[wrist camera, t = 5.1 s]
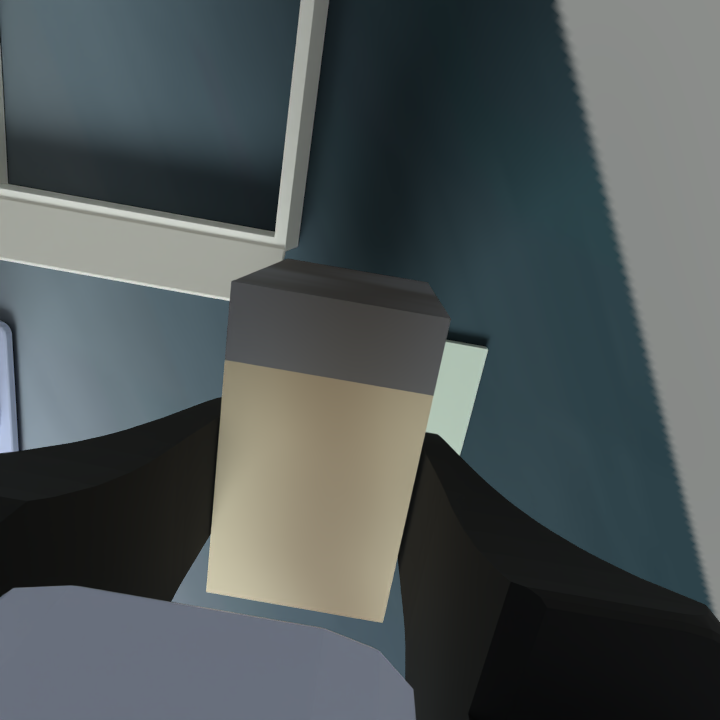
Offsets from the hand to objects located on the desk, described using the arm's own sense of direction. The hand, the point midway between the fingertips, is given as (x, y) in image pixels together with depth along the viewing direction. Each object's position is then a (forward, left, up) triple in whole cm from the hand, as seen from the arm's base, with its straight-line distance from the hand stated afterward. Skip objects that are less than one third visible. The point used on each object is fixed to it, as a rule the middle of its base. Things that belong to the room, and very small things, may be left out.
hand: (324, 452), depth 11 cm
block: (0, +1, -3) cm, 3 cm away
